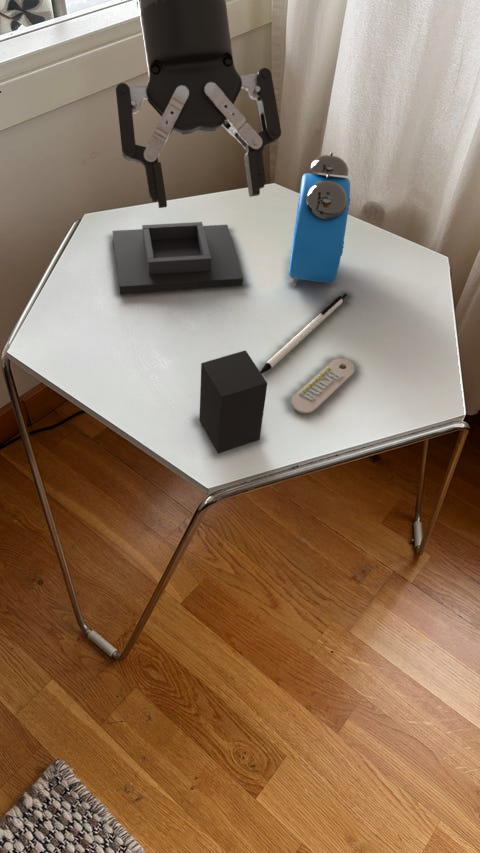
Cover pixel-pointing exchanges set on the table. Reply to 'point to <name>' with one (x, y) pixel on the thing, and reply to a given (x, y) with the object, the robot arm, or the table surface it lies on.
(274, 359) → the pen
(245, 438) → the pad block
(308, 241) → the alarm clock
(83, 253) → the table surface
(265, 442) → the table surface
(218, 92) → the robot arm
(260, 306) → the table surface
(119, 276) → the base pad
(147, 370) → the table surface
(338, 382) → the keychain
